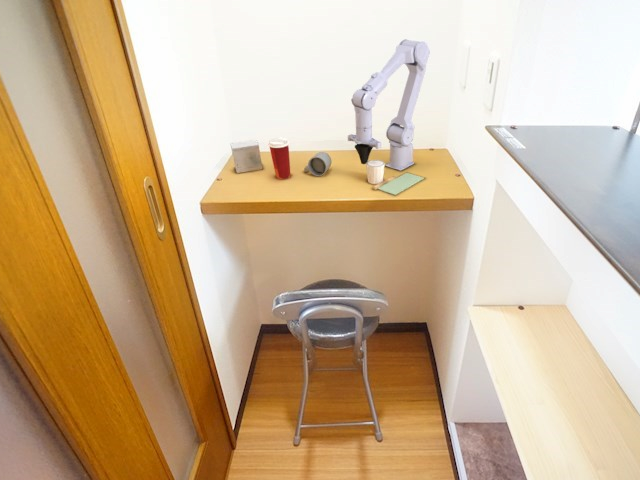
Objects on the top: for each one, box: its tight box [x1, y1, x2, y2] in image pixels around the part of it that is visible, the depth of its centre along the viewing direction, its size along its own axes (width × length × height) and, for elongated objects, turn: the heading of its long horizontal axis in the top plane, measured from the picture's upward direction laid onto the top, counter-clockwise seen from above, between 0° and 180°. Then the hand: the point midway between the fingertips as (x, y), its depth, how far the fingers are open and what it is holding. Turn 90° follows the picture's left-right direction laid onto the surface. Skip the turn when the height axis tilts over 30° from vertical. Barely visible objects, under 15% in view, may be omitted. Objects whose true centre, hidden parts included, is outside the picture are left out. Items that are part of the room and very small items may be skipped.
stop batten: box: [372, 175, 397, 191], centre depth 146 cm, size 12×1×1 cm, turn 137°
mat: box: [376, 172, 425, 196], centre depth 146 cm, size 18×8×1 cm, turn 137°
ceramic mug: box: [303, 151, 332, 177], centre depth 155 cm, size 11×8×8 cm
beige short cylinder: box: [365, 159, 386, 185], centre depth 147 cm, size 7×7×7 cm
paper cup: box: [267, 137, 291, 180], centre depth 151 cm, size 8×8×14 cm
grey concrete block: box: [230, 139, 264, 174], centre depth 159 cm, size 10×6×10 cm, turn 110°
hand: (364, 163), depth 148 cm, fingers closed
